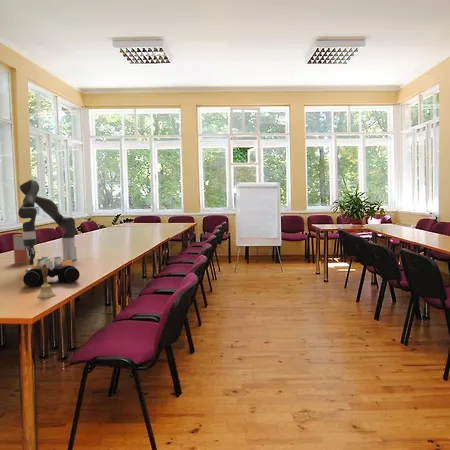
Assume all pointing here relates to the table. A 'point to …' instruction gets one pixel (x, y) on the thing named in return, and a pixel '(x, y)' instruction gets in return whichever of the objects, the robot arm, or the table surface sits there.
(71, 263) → the knob
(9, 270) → the table surface
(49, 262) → the levelling plate
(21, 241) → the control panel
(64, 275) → the binoculars
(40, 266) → the knob
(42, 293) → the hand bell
